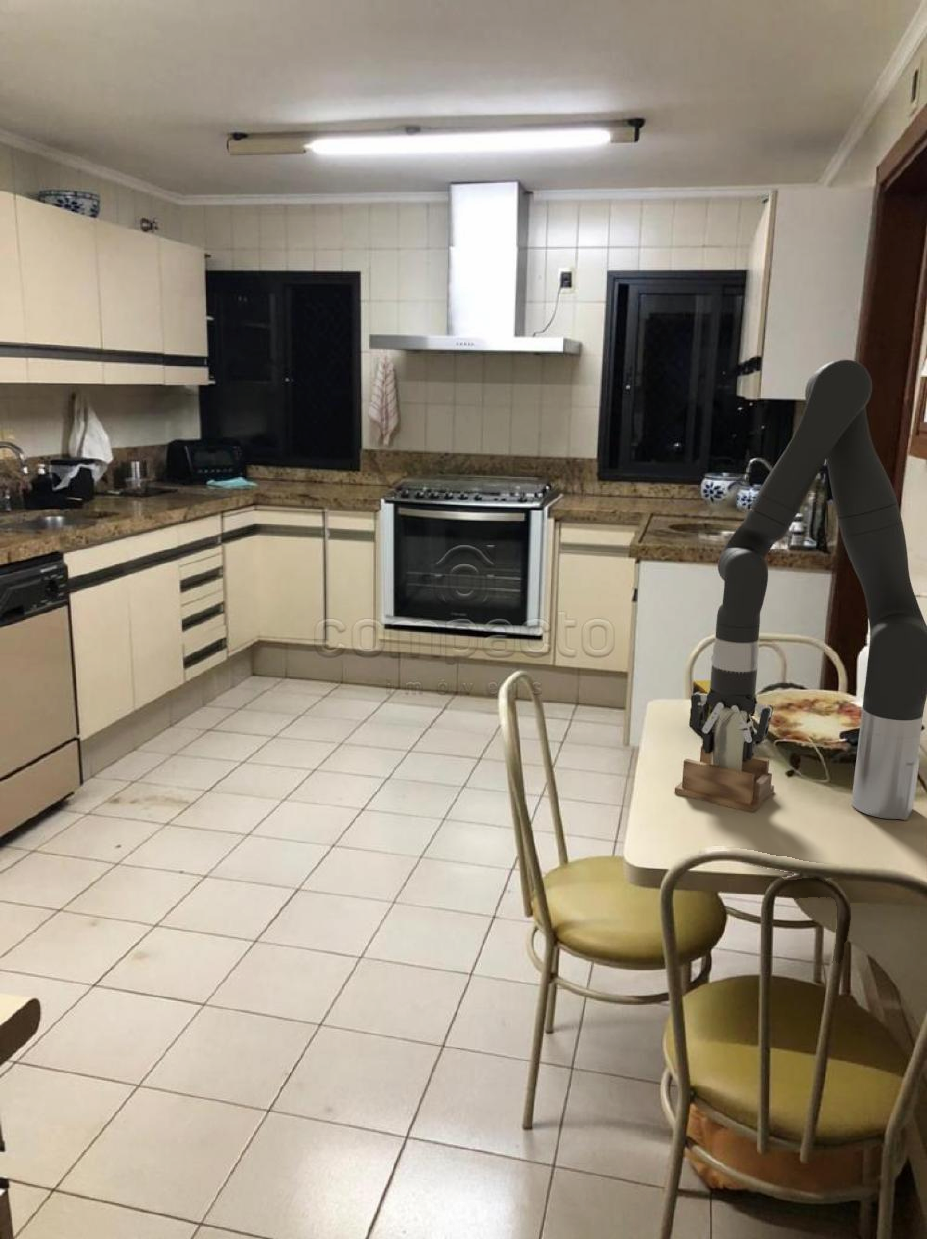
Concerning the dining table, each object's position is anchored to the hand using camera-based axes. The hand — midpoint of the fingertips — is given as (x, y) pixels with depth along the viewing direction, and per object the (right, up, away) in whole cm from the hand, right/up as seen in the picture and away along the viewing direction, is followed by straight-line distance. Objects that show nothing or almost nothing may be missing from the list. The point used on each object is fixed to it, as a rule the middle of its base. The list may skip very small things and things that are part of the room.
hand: (727, 756), depth 167 cm
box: (0, -4, +1) cm, 4 cm away
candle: (+7, 0, +31) cm, 32 cm away
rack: (0, -6, +2) cm, 7 cm away
